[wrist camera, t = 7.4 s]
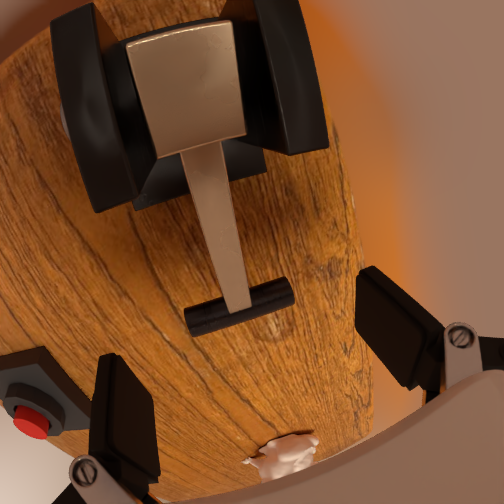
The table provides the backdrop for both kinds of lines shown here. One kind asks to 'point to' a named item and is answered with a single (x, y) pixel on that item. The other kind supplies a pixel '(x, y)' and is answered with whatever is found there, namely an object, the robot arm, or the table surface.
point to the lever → (203, 153)
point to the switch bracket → (129, 114)
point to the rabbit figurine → (285, 456)
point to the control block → (43, 390)
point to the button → (31, 422)
